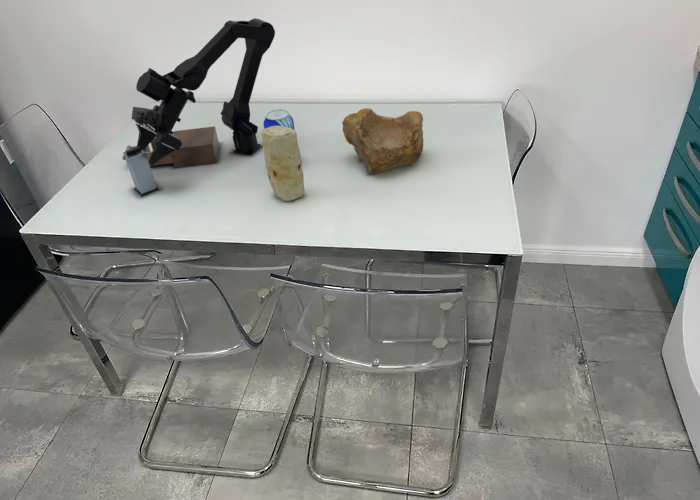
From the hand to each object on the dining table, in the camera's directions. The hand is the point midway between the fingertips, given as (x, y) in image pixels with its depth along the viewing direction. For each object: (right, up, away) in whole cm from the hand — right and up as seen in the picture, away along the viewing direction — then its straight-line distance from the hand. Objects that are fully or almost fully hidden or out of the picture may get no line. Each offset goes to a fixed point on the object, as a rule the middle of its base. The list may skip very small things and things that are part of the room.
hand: (143, 158), depth 156 cm
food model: (+40, -11, -3) cm, 42 cm away
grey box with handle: (-1, -8, +5) cm, 9 cm away
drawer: (-3, +3, +18) cm, 18 cm away
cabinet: (+10, +4, +19) cm, 22 cm away
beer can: (+38, 0, +11) cm, 39 cm away
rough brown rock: (+67, -1, +7) cm, 67 cm away
